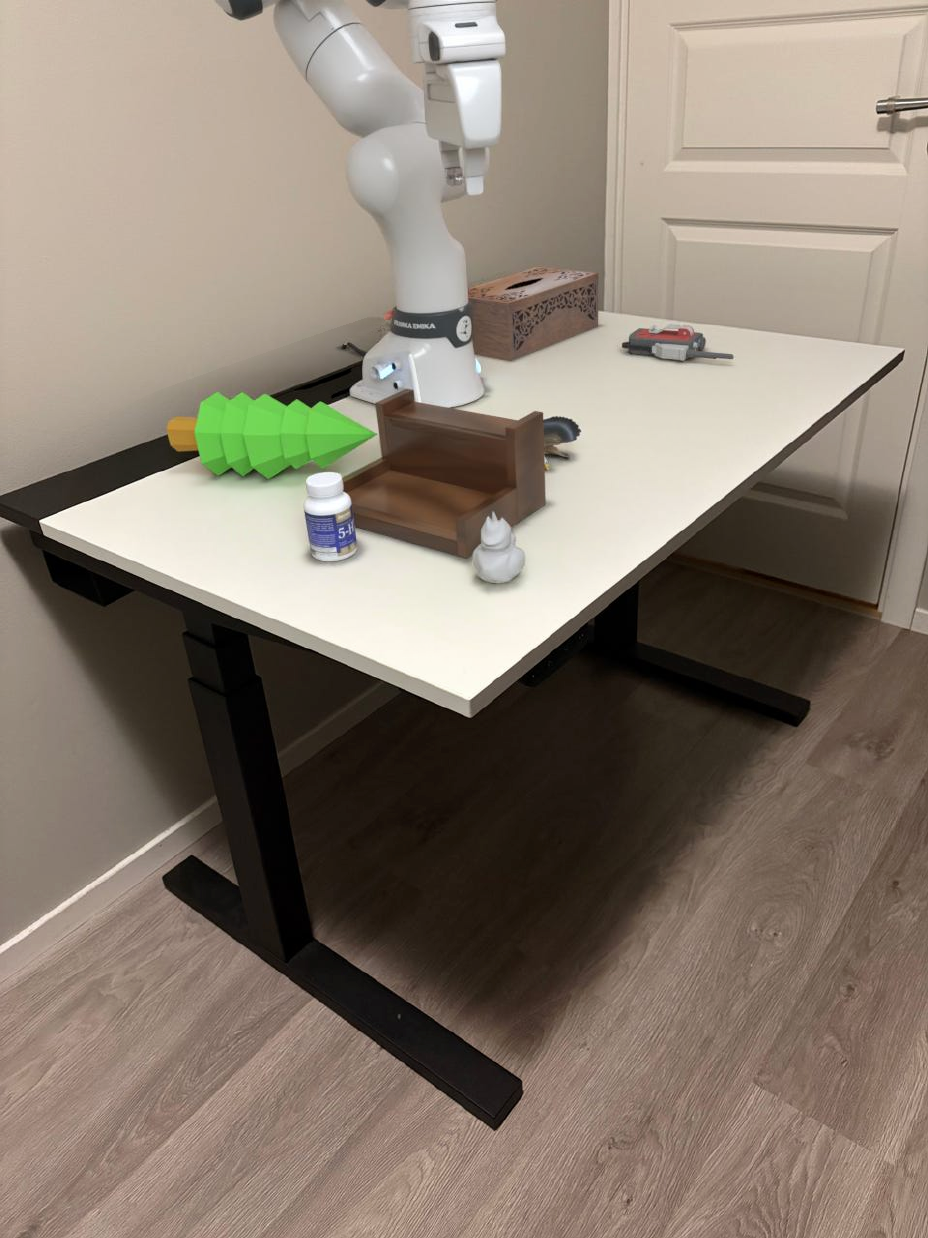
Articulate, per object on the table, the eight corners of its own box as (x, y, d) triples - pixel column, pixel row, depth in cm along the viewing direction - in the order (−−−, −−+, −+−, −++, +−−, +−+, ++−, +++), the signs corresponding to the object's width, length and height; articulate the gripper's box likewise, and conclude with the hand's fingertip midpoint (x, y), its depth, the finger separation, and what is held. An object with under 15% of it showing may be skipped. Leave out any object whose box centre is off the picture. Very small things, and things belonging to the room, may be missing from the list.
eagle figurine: (538, 476, 118) (592, 445, 121) (510, 425, 118) (565, 395, 121) (513, 489, 125) (565, 459, 129) (487, 441, 125) (539, 413, 128)
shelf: (467, 558, 103) (459, 459, 97) (331, 520, 114) (317, 429, 108) (545, 504, 114) (543, 411, 108) (415, 473, 125) (406, 388, 119)
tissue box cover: (511, 361, 166) (508, 303, 160) (451, 350, 174) (447, 294, 169) (598, 327, 181) (598, 272, 176) (539, 318, 190) (537, 266, 185)
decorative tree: (174, 374, 129) (377, 371, 120) (209, 437, 138) (401, 438, 128) (139, 432, 123) (350, 433, 113) (178, 494, 131) (377, 499, 122)
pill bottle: (349, 563, 104) (338, 489, 100) (305, 562, 105) (292, 488, 101) (363, 541, 109) (353, 469, 104) (320, 540, 110) (308, 468, 105)
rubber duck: (464, 587, 98) (458, 517, 94) (488, 558, 103) (484, 491, 99) (513, 595, 96) (509, 523, 92) (535, 565, 101) (533, 496, 97)
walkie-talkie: (615, 356, 163) (730, 367, 154) (616, 330, 161) (732, 340, 152) (635, 342, 169) (746, 352, 160) (636, 317, 167) (749, 325, 158)
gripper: (405, 45, 104) (417, 182, 111) (444, 40, 87) (455, 203, 94) (461, 40, 105) (469, 177, 112) (510, 34, 88) (517, 196, 95)
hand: (463, 189), depth 103 cm, fingers open, 8 cm apart
